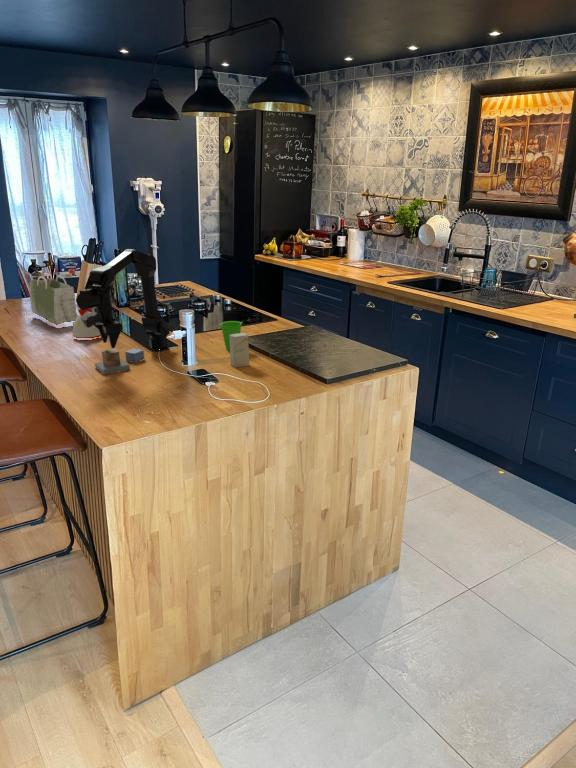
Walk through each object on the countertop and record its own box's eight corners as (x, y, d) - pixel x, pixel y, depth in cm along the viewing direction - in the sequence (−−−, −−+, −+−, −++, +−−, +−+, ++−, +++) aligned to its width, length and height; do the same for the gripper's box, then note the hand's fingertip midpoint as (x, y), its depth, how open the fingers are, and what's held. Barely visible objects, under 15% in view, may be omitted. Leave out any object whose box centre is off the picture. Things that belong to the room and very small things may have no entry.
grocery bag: (84, 324, 288) (77, 277, 280) (56, 329, 279) (49, 281, 271) (58, 313, 310) (51, 269, 302) (31, 318, 302) (24, 273, 294)
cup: (247, 347, 245) (246, 322, 241) (236, 353, 238) (235, 327, 234) (228, 345, 249) (227, 320, 245) (217, 351, 241) (215, 325, 237)
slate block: (135, 358, 235) (134, 348, 233) (144, 359, 232) (143, 350, 231) (126, 361, 231) (125, 351, 230) (135, 363, 228) (134, 353, 227)
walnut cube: (116, 361, 224) (114, 348, 223) (120, 364, 221) (119, 351, 219) (103, 363, 222) (101, 351, 220) (107, 366, 218) (105, 354, 216)
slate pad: (120, 363, 228) (120, 358, 228) (129, 369, 221) (129, 364, 220) (95, 368, 223) (94, 363, 222) (103, 375, 215) (103, 369, 215)
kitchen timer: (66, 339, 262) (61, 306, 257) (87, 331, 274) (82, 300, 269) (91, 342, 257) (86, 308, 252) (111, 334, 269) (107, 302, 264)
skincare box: (234, 368, 220) (233, 337, 216) (230, 364, 224) (228, 334, 220) (249, 365, 223) (248, 334, 219) (245, 362, 227) (243, 332, 222)
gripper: (74, 302, 216) (80, 343, 221) (89, 312, 201) (95, 355, 207) (103, 299, 222) (108, 338, 227) (120, 307, 207) (125, 349, 213)
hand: (109, 345), depth 218 cm, fingers open, 9 cm apart
